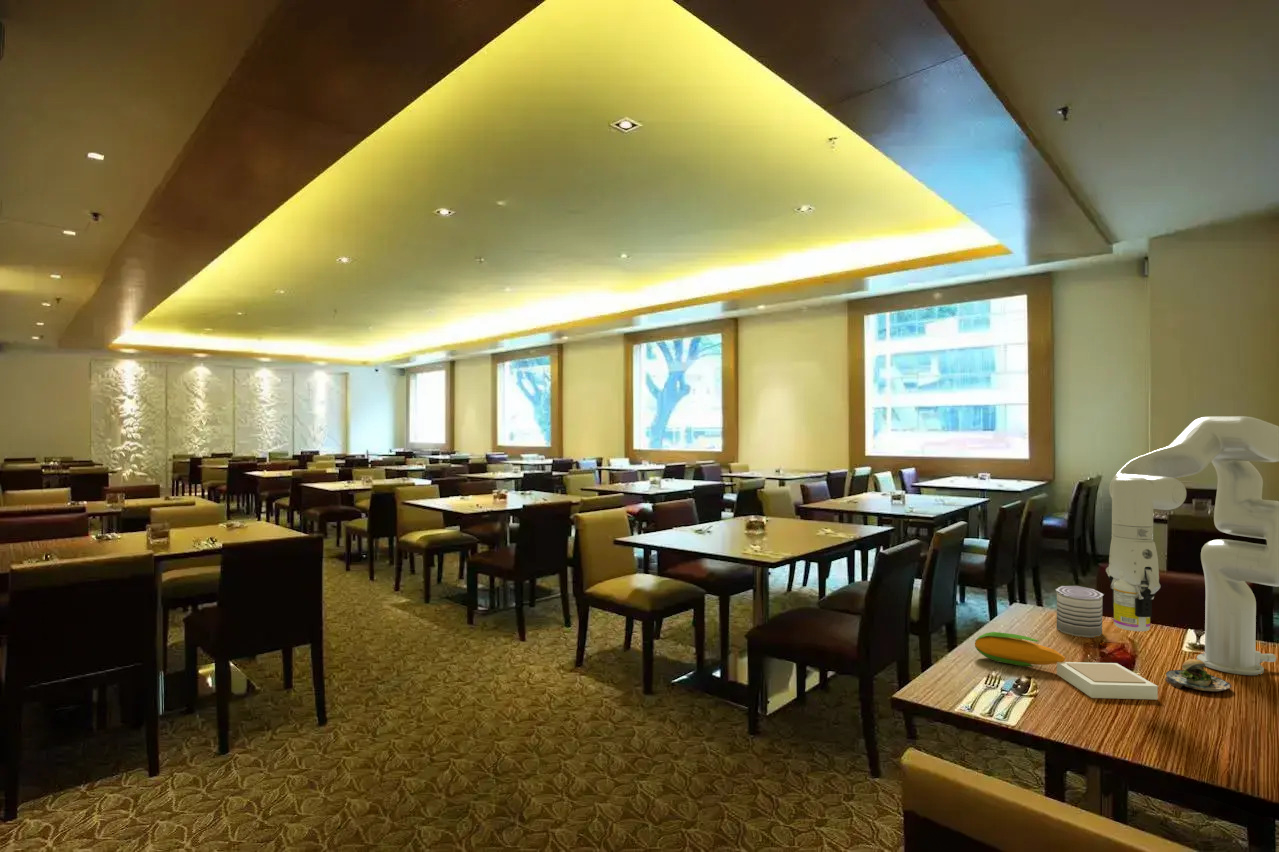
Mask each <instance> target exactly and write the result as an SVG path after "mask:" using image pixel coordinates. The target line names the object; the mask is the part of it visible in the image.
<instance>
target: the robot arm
mask: <svg viewBox="0 0 1279 852" xmlns="http://www.w3.org/2000/svg"><path fill="white" fill-rule="evenodd" d="M1251 462H1261V463H1279V425H1276V424H1274V423H1271V422H1268V421H1265V420H1262V419H1260V418H1256V417H1253V416H1245V415H1244V416H1243V415H1238V416H1236V415H1233V416H1231V415H1230V416H1229V415H1228V416H1227V415H1226V416H1225V415H1224V416H1223V415H1221V416H1219V415H1217V416H1216V415H1214V416H1213V415H1212V416H1208V415H1207V416H1202V417H1199V418H1196V419H1194V420H1193V421H1191V423H1189V425H1187V426H1186V427H1185V428H1184V429H1183V430H1182V431H1181V433H1180V434H1178V436H1177V437H1176V438H1174V439H1173V441H1171V442H1170V443H1169V444H1168V445H1167V446H1165V447H1162V448H1159V449H1156V450H1153V451H1151V452H1148V453H1146V454H1142V455H1139V456H1138V457H1135V458H1133V459H1131V460H1129V461H1128V462H1126V464H1124V465H1123V466H1122V467H1121V468H1120V469H1119V470H1118V471H1117V473H1115V475H1114V476H1113V478H1112V479H1111V481H1110V483H1109V488H1108V489H1109V491H1108V492H1109V496H1110V497H1111V540H1110V547H1109V557H1108V566H1107V567H1106V568H1105V572H1106V574H1107V576H1108V580H1109V582H1110V589H1112V600H1111V601H1112V603H1111V604H1112V607H1113V608H1114V583H1115V582H1116V581H1117V580H1120V578H1121V577H1120V575H1119V571H1123V572H1124V575H1125V578H1124V580H1125V581H1126V582H1127V583H1129V584H1131V585H1134V586H1135V590H1136V593H1137V597H1138V598H1135V616H1137V617H1150V618H1151V617H1152V614H1153V613H1152V612H1153V609H1152V608H1153V605H1152V604H1153V601H1152V600H1154V598H1155V596H1156V594H1157V592H1158V591H1159V590H1160V589H1161V584H1160V575H1159V574H1160V571H1159V570H1160V568H1159V567H1160V566H1159V557H1158V550H1157V546H1156V542H1155V541H1154V509H1155V510H1164V511H1166V510H1167V511H1169V510H1175V509H1178V508H1179V507H1180V506H1182V505H1183V504H1184V502H1185V501H1186V498H1187V489H1186V487H1185V485H1184V484H1183V482H1182V481H1180V480H1178V479H1177V478H1183V477H1188V476H1193V475H1197V474H1199V473H1201V472H1202V471H1204V470H1205V469H1206V468H1207V467H1208V465H1210V463H1211V464H1212V465H1213V467H1214V469H1215V472H1216V477H1217V488H1216V496H1215V504H1214V512H1213V522H1214V526H1215V528H1216V529H1217V530H1218V531H1219V532H1221V533H1225V534H1228V535H1232V536H1240V537H1247V538H1254V539H1260V540H1261V539H1263V540H1266V544H1263V543H1262V544H1261V543H1253V542H1248V541H1242V540H1236V539H1235V540H1233V539H1224V538H1223V539H1222V538H1220V539H1218V538H1217V539H1213V540H1209V541H1207V542H1206V543H1204V545H1203V546H1202V547H1201V552H1200V561H1201V566H1202V570H1203V575H1204V585H1205V602H1204V603H1205V604H1204V606H1205V610H1204V611H1205V612H1204V613H1205V614H1204V615H1205V617H1204V618H1205V620H1204V622H1205V623H1204V653H1200V654H1198V655H1196V659H1197V660H1200V661H1202V662H1203V663H1204V664H1205V668H1209V669H1212V670H1216V671H1220V672H1223V673H1228V674H1234V675H1242V676H1259V675H1258V674H1260V675H1262V674H1264V672H1265V670H1264V669H1265V668H1264V666H1263V665H1261V663H1263V662H1267V663H1268V662H1269V663H1275V662H1276V661H1277V656H1276V655H1275V654H1274V653H1262V652H1260V651H1257V650H1256V635H1257V634H1256V627H1257V626H1256V625H1257V624H1256V622H1257V619H1256V618H1257V617H1256V616H1257V601H1256V597H1255V594H1254V593H1253V590H1252V588H1251V587H1250V586H1249V585H1248V584H1247V583H1254V584H1257V585H1258V584H1259V585H1264V586H1270V587H1277V588H1279V500H1273V499H1272V500H1271V499H1263V486H1264V481H1263V477H1262V474H1260V472H1259V470H1258V469H1257V467H1255V466H1254V465H1253V464H1252V463H1251ZM1141 582H1144V584H1141ZM1141 588H1146V589H1145V590H1144V591H1143V592H1142V589H1141ZM1261 673H1262V674H1261Z"/></svg>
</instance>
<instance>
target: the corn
mask: <svg viewBox="0 0 1279 852" xmlns="http://www.w3.org/2000/svg"><path fill="white" fill-rule="evenodd" d="M1036 642H1039V640H1038V639H1035V638H1031V636H1030V637H1029V636H1026V635H1020V634H1015V633H1006V632H1000V631H990V632H986V633H983V634H981V635H979V636H978V637H977V638H976V639H975V641H974V646H975V647H974V648H975V649H976V650H977V652H978V653H980V655H982V656H984V657H985V658H986V659H990V660H991V661H994V662H999V663H1004V664H1009V665H1014V666H1019V667H1028V668H1033V665H1038V666H1045V665H1046V666H1047V665H1057V662H1065V660H1066V657H1065V656H1064V655H1063V654H1061V653H1060V652H1059V651H1057V650H1055V649H1054V648H1051V647H1047V646H1045V645H1042V644H1038V643H1036Z"/></svg>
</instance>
